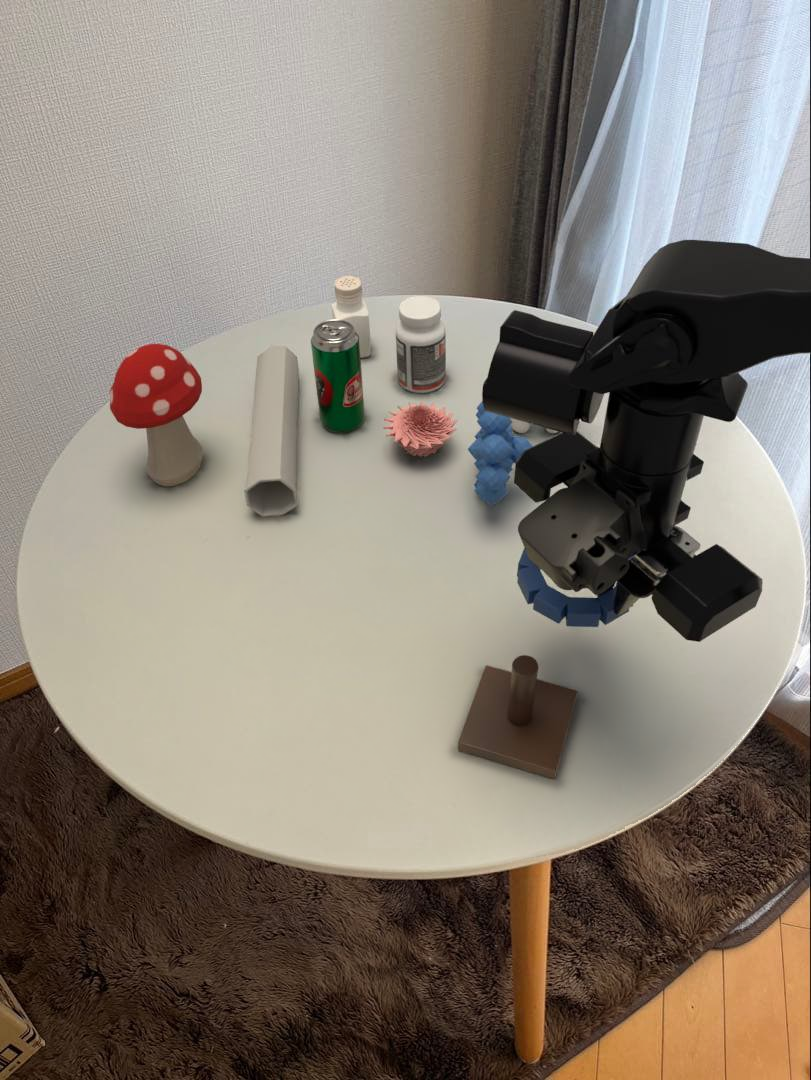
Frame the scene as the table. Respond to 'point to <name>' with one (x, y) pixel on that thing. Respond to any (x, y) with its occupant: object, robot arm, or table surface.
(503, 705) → the post
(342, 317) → the pepper shaker
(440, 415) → the flower
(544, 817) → the table surface
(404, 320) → the pill bottle
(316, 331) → the soda can
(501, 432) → the grapes
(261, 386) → the tube
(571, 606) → the ring
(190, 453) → the decorative mushroom
